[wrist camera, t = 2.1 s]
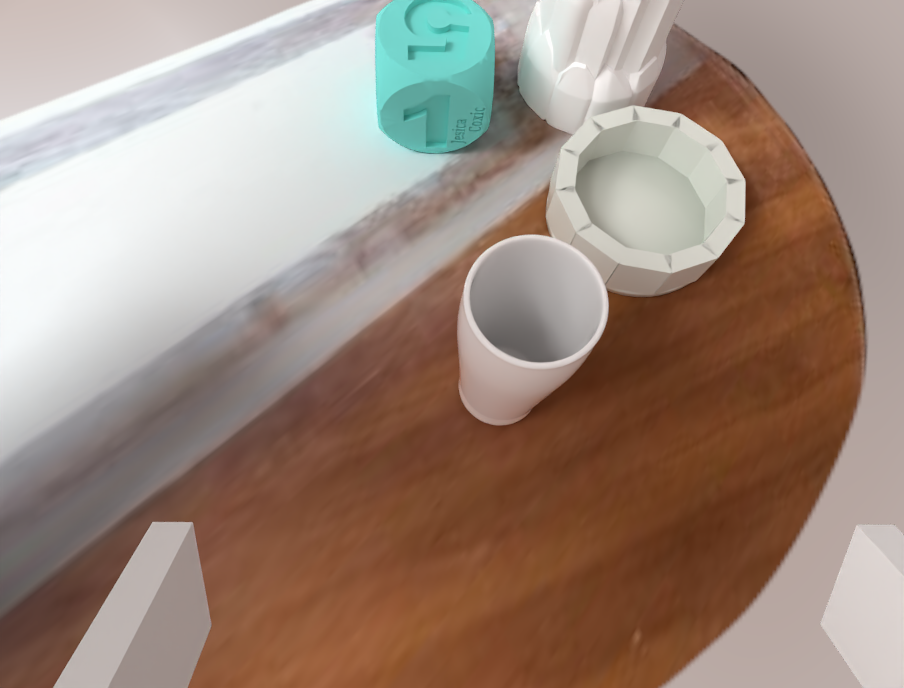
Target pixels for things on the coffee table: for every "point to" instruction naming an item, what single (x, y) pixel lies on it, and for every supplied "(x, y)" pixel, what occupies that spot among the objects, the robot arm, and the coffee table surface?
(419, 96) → the decorative dice
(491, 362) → the drinking glass
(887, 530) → the robot arm
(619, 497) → the coffee table surface
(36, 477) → the coffee table surface
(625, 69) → the decorative vase
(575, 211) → the dish
